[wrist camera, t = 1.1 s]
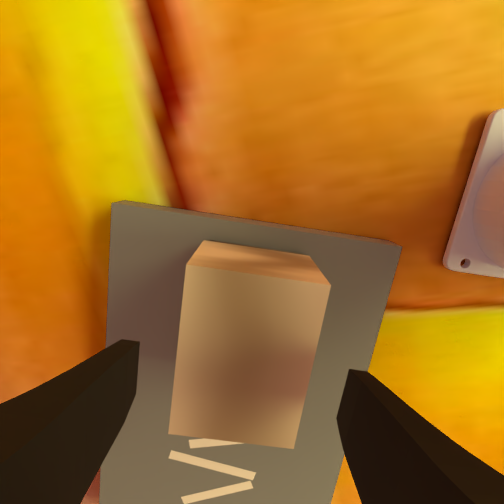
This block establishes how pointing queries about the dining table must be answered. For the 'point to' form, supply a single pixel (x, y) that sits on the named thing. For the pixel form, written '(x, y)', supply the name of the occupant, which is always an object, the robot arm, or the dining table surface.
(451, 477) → the robot arm
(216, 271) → the block
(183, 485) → the board
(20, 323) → the dining table surface
